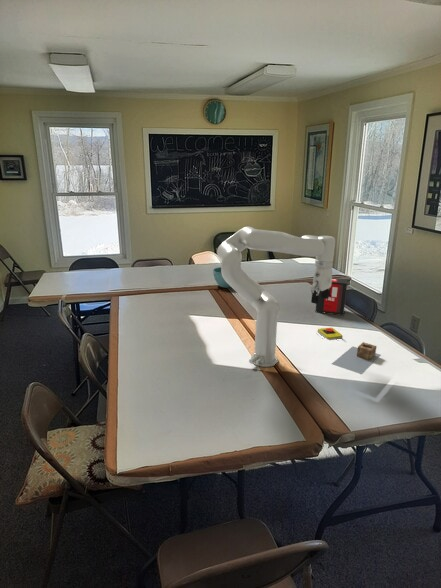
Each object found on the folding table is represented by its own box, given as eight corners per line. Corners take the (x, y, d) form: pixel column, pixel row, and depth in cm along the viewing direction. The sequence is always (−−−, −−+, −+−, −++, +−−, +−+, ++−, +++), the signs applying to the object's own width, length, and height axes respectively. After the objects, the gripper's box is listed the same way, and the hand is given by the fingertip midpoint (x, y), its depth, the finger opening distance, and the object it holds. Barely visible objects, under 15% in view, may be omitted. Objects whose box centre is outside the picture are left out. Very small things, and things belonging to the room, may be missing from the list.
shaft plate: (361, 377, 175) (362, 365, 173) (330, 366, 184) (332, 355, 182) (380, 357, 193) (382, 347, 191) (352, 349, 201) (353, 338, 199)
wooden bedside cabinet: (356, 356, 190) (358, 346, 189) (361, 351, 195) (363, 341, 193) (370, 360, 187) (371, 350, 185) (375, 355, 191) (376, 345, 190)
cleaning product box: (344, 310, 253) (347, 279, 246) (343, 315, 245) (347, 283, 238) (317, 307, 258) (319, 276, 251) (315, 311, 250) (318, 280, 243)
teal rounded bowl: (209, 283, 304) (210, 267, 300) (232, 281, 309) (233, 266, 305) (217, 290, 287) (217, 274, 283) (241, 288, 292) (241, 272, 289)
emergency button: (331, 324, 221) (346, 335, 208) (330, 331, 223) (345, 343, 209) (315, 325, 219) (329, 337, 205) (315, 333, 220) (328, 344, 207)
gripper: (322, 269, 171) (318, 307, 176) (340, 262, 184) (335, 298, 189) (306, 265, 176) (303, 303, 181) (324, 259, 188) (320, 294, 194)
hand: (319, 300), depth 185 cm, fingers open, 9 cm apart
